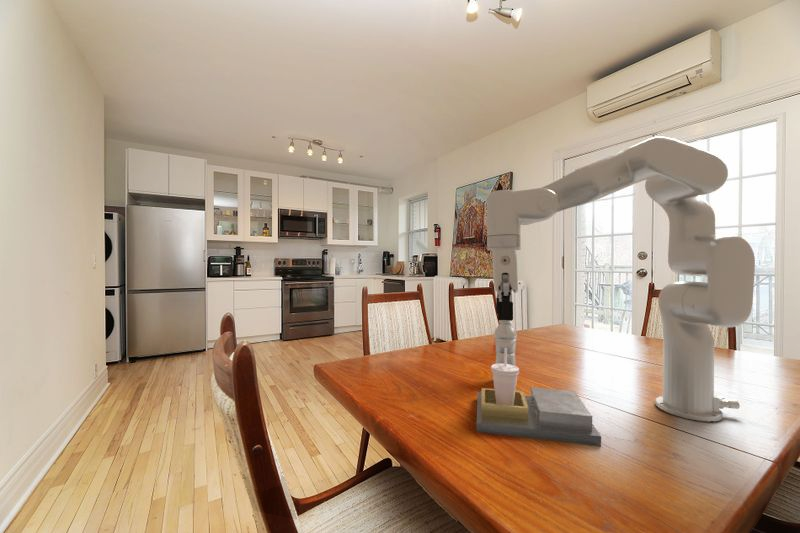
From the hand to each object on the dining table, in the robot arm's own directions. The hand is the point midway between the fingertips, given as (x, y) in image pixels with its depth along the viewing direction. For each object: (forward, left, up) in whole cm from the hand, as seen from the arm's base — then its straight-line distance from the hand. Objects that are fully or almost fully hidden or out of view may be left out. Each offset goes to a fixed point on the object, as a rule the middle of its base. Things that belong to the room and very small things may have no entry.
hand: (504, 316), depth 79 cm
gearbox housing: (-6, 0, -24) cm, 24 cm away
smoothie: (0, 0, -22) cm, 22 cm away
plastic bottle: (-2, -24, -24) cm, 34 cm away
